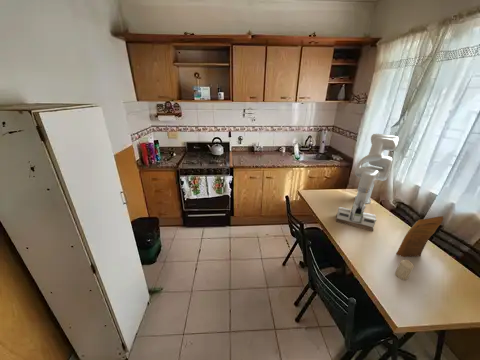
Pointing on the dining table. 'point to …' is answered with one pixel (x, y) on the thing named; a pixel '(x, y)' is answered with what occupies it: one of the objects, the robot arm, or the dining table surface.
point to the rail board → (365, 223)
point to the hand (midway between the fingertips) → (357, 210)
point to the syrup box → (355, 216)
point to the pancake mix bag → (418, 237)
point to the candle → (404, 269)
